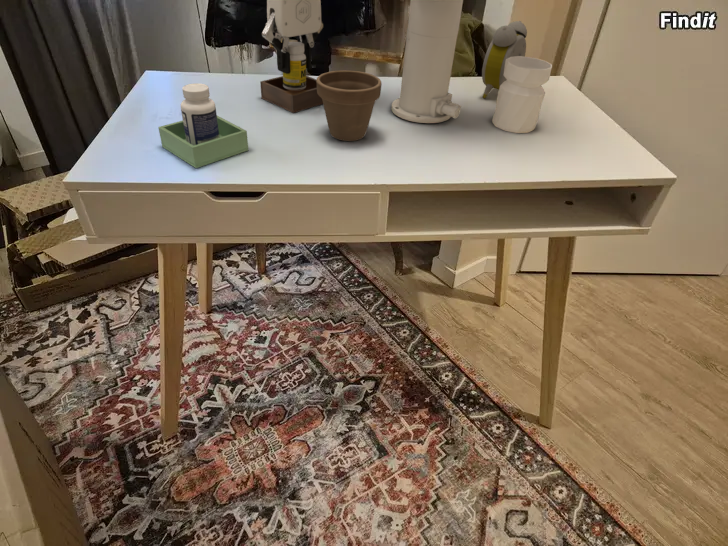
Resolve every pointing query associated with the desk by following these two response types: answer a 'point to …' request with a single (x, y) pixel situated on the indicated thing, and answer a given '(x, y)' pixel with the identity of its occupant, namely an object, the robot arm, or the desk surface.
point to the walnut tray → (290, 94)
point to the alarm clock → (502, 53)
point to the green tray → (207, 152)
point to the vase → (521, 94)
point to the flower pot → (348, 101)
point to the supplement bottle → (296, 68)
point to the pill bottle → (199, 114)
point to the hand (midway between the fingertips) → (294, 68)
